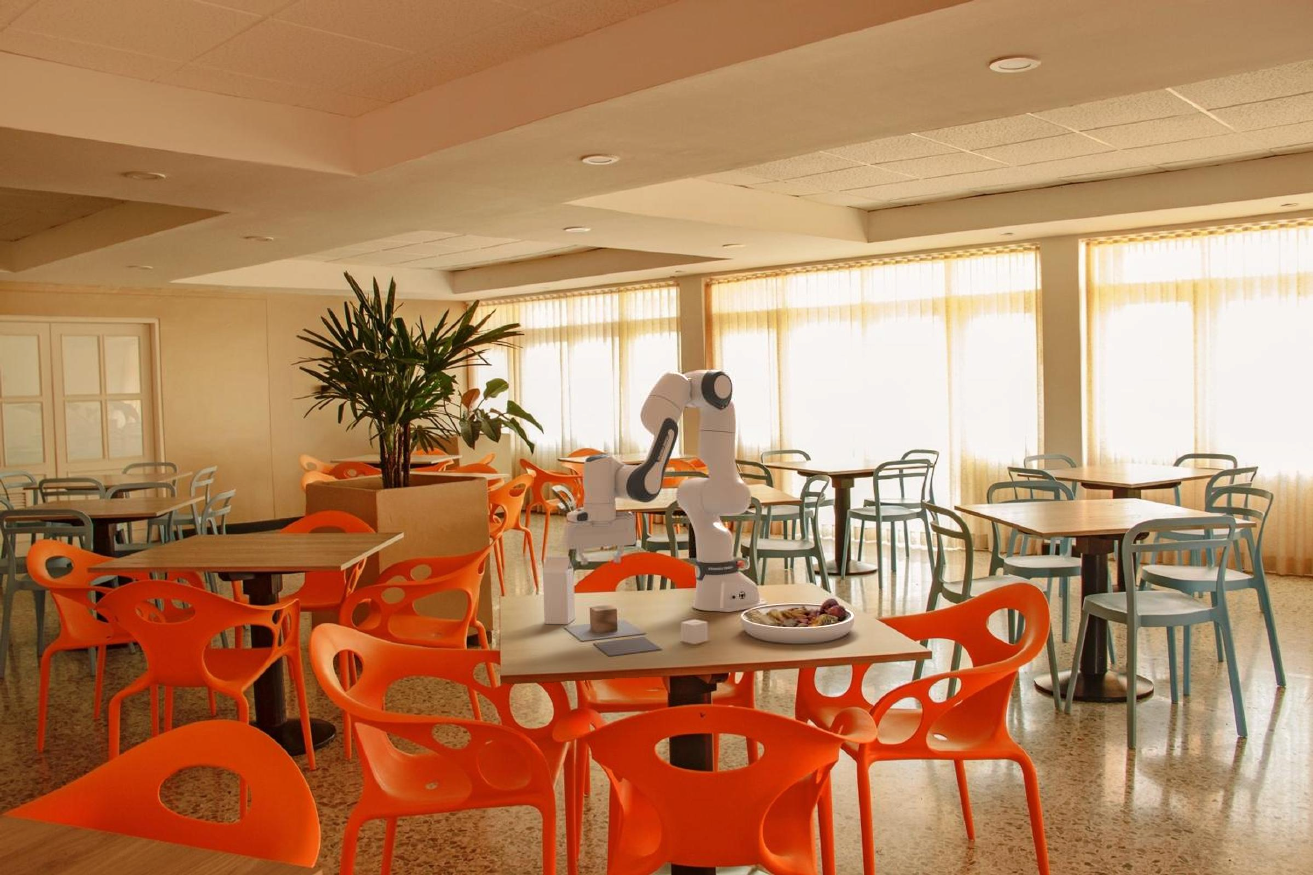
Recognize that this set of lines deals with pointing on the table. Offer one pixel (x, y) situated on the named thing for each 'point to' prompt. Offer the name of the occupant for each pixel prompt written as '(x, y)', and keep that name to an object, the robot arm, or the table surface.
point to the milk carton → (558, 591)
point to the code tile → (588, 634)
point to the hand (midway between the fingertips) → (600, 563)
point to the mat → (627, 646)
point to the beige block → (694, 631)
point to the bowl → (798, 622)
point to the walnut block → (603, 618)
